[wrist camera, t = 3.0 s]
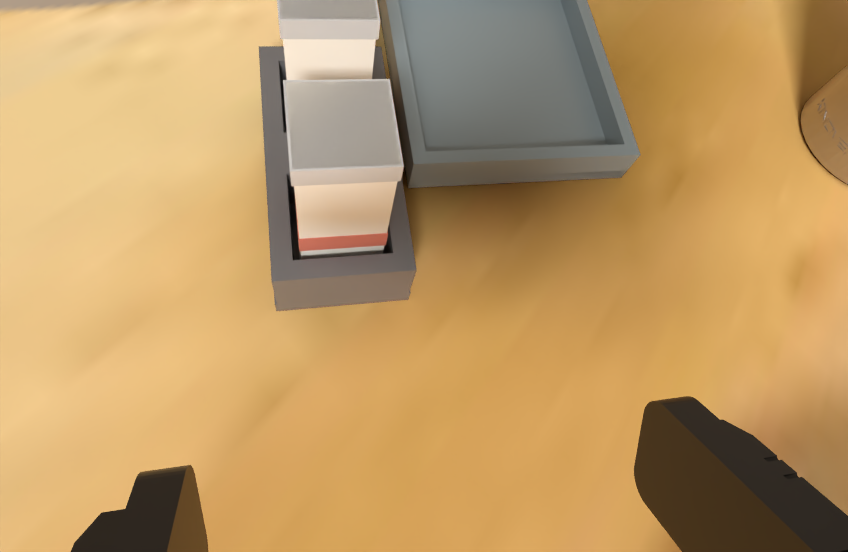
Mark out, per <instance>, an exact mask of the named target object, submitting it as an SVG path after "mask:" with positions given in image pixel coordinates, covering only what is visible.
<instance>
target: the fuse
mask: <svg viewBox="0 0 848 552" xmlns="http://www.w3.org/2000/svg"><path fill="white" fill-rule="evenodd" d="M277 4H278V18H279V29H280V39H283V45H284V56H285V67H286V78H287V80H340V79H372V73H373V62H374V52H375V42H376V39H379V30H380V16H379V10H378V4H377V0H277Z"/></svg>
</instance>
